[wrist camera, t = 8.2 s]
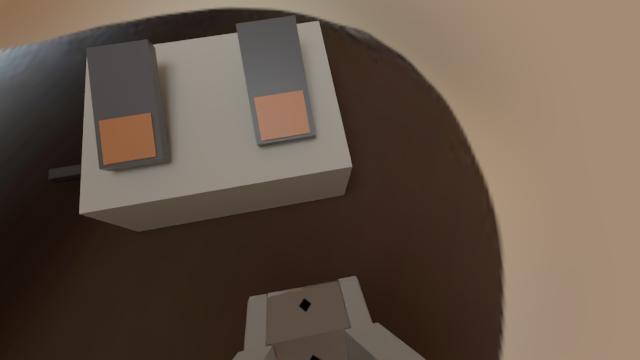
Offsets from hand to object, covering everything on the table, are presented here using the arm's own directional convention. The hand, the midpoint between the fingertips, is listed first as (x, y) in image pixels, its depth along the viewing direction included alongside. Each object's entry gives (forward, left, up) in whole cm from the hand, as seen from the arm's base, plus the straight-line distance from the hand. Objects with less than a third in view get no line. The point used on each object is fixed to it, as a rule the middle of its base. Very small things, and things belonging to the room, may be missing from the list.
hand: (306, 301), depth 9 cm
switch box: (-18, +4, -21) cm, 28 cm away
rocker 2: (-11, +11, -12) cm, 20 cm away
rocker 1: (-19, +3, -12) cm, 23 cm away
